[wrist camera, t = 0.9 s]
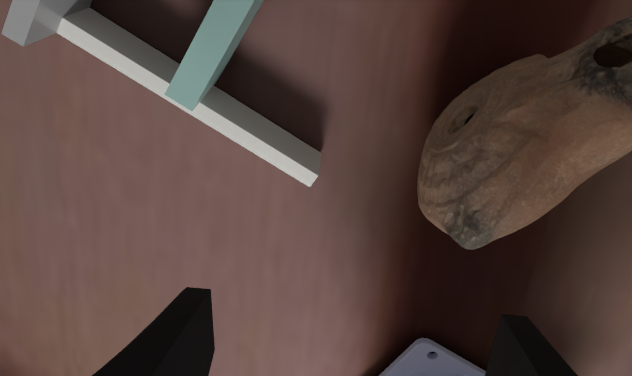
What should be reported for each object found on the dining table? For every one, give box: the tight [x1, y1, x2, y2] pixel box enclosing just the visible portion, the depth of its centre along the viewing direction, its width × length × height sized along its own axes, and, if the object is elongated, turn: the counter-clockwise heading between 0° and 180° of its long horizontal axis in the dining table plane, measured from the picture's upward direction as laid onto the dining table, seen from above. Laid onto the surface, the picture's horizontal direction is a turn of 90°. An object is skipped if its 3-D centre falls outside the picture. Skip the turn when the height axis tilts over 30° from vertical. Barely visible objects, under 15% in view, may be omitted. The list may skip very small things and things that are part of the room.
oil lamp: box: [417, 17, 632, 250], centre depth 16 cm, size 9×4×8 cm, turn 149°
